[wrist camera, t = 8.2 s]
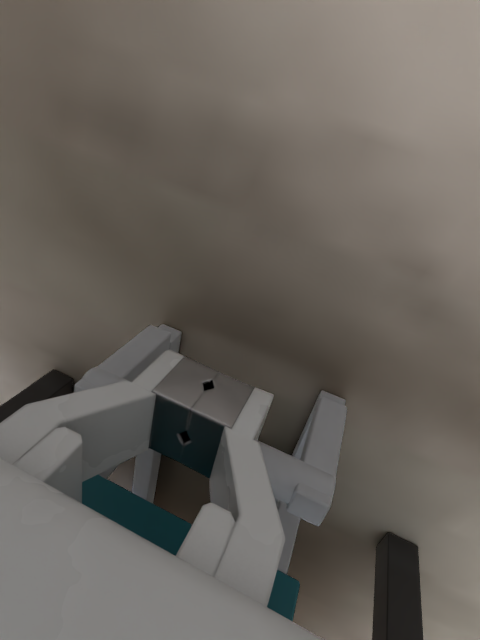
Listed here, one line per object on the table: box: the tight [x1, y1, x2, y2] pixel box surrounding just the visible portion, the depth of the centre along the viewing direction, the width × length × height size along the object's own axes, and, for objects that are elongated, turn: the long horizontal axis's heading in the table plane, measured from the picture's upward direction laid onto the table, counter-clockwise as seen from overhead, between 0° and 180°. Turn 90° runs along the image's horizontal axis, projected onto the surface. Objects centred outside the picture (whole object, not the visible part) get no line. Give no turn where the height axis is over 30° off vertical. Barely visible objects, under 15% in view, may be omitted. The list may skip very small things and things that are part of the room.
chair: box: [74, 324, 347, 621], centre depth 12 cm, size 12×8×12 cm, turn 166°
